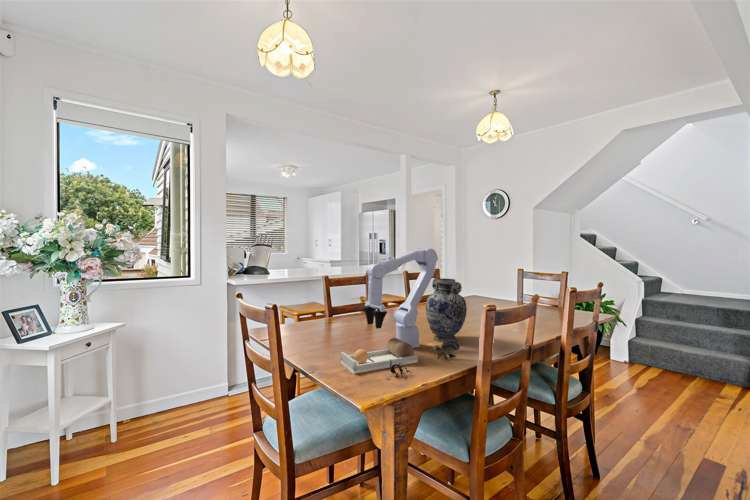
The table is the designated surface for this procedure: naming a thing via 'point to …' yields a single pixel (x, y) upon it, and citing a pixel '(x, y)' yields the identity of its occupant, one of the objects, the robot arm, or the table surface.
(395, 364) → the creature
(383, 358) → the lane
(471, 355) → the table surface
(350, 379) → the table surface
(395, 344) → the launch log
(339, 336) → the table surface
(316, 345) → the table surface
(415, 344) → the robot arm
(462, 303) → the decorative vase
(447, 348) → the withered leafy plant
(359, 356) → the ball
